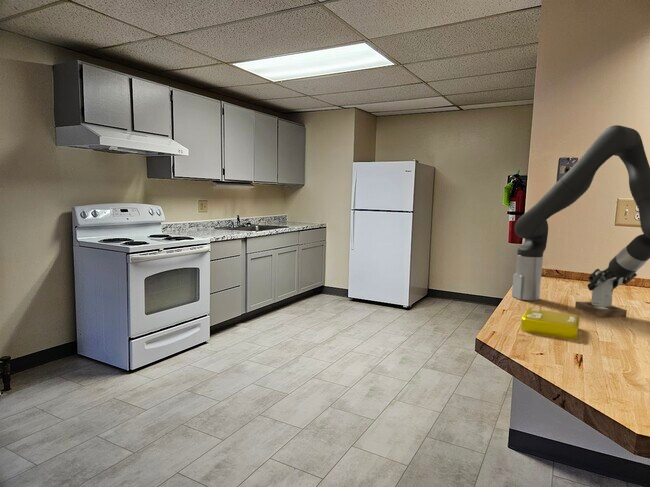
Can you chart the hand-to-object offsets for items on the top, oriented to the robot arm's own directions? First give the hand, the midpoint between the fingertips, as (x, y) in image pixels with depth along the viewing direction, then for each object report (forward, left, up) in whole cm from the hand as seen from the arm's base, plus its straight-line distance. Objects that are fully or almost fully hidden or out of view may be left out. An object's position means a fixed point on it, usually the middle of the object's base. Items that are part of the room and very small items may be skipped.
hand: (599, 288), depth 152 cm
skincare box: (0, -2, -6) cm, 6 cm away
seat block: (0, -1, -9) cm, 9 cm away
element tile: (-31, -19, -9) cm, 37 cm away
